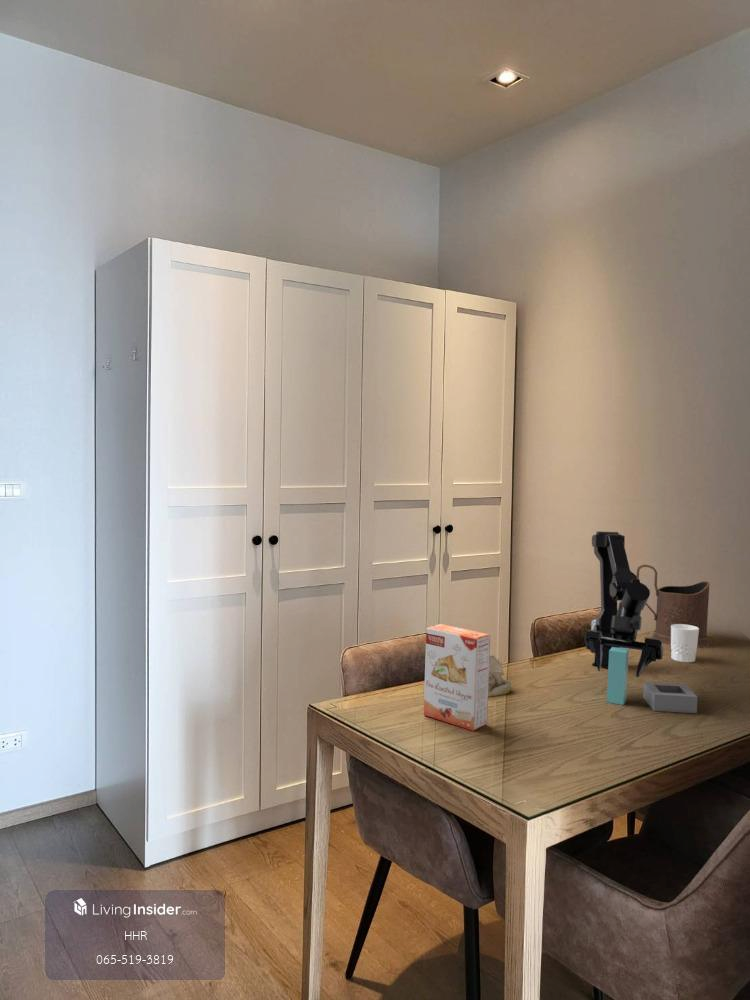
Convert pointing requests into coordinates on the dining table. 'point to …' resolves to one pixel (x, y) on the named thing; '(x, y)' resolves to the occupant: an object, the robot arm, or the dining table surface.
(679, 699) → the socket
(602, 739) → the dining table surface
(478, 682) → the cracker box
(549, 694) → the dining table surface
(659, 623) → the rusty brown pitcher
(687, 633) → the white cup
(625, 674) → the plug
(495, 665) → the ceramic model
